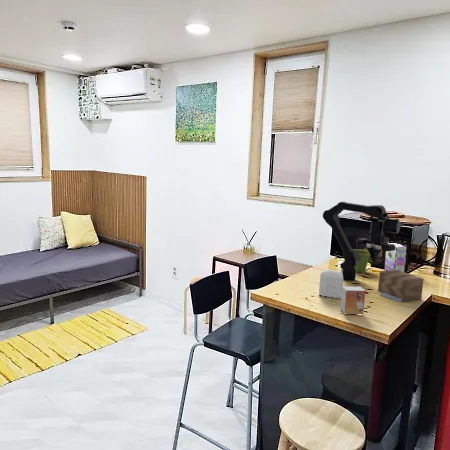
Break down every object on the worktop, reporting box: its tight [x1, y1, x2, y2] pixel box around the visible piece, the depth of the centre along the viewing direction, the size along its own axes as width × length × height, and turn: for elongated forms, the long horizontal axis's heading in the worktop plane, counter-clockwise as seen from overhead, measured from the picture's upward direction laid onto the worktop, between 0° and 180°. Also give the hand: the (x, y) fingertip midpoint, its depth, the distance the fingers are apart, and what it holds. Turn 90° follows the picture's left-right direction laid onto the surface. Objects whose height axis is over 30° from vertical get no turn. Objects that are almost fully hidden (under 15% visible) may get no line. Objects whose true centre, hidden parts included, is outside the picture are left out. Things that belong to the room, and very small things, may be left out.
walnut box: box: [377, 269, 424, 303], centre depth 181 cm, size 16×10×10 cm, turn 23°
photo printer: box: [318, 269, 344, 299], centre depth 177 cm, size 10×4×12 cm, turn 72°
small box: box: [339, 285, 366, 315], centre depth 158 cm, size 8×6×10 cm
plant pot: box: [353, 248, 371, 273], centre depth 220 cm, size 12×12×11 cm
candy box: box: [384, 242, 408, 272], centre depth 217 cm, size 14×6×16 cm, turn 179°
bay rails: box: [379, 292, 403, 303], centre depth 181 cm, size 10×16×1 cm, turn 124°
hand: (373, 261), depth 195 cm, fingers closed
